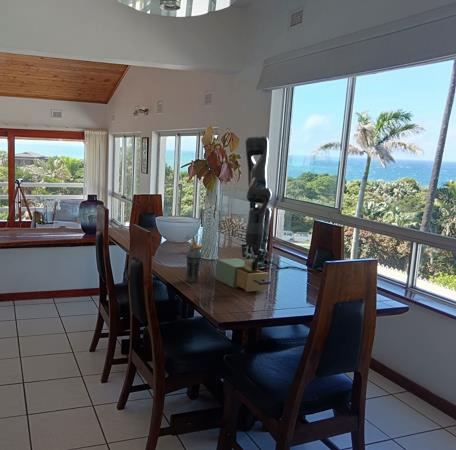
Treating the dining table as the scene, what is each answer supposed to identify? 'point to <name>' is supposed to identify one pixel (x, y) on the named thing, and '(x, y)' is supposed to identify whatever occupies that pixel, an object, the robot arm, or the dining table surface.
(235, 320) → the dining table surface
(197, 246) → the orange bird figurine
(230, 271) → the cabinet
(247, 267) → the block
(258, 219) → the robot arm
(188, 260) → the beverage cup
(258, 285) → the drawer
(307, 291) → the dining table surface
